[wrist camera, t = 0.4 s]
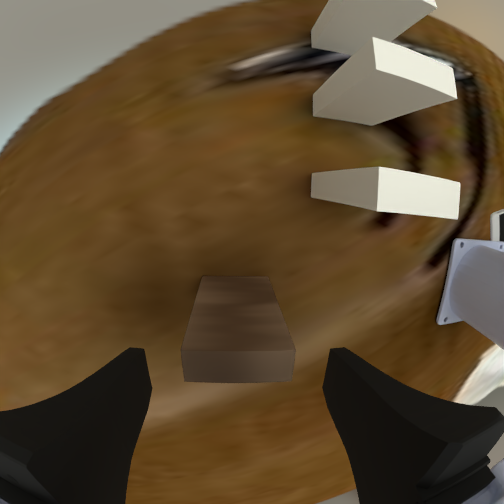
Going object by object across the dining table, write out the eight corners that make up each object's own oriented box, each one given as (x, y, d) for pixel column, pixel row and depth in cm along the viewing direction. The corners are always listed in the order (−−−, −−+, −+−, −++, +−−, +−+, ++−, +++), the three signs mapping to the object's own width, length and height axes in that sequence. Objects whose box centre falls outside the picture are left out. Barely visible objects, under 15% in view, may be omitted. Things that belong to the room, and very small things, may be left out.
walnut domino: (268, 276, 19) (295, 349, 10) (266, 298, 19) (291, 380, 11) (202, 275, 19) (180, 350, 10) (203, 297, 19) (184, 381, 10)
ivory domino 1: (366, 43, 15) (430, -12, 7) (367, 59, 16) (437, 7, 7) (310, 30, 15) (355, -43, 6) (311, 47, 15) (360, -25, 7)
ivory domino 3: (371, 179, 18) (460, 182, 9) (369, 201, 18) (457, 219, 10) (311, 173, 18) (379, 166, 9) (310, 197, 18) (376, 210, 9)
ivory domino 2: (371, 105, 17) (452, 68, 8) (371, 125, 17) (457, 98, 8) (312, 94, 16) (372, 36, 8) (312, 116, 17) (376, 69, 8)
